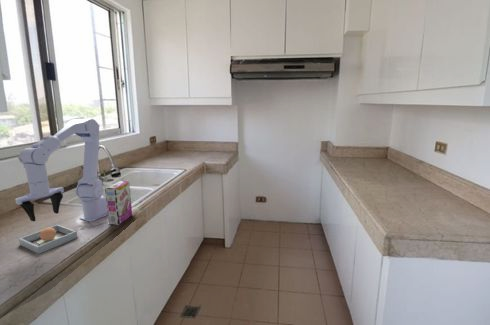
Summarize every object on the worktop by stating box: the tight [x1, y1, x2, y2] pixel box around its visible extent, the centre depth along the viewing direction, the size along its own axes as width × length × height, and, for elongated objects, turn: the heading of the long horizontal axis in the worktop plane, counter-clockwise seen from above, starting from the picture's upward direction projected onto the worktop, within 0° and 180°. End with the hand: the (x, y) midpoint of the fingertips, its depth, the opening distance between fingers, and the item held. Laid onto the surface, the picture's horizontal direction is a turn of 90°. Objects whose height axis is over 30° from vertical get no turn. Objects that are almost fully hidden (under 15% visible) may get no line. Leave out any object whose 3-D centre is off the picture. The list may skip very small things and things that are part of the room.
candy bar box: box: [104, 180, 133, 226], centre depth 117 cm, size 11×5×16 cm, turn 174°
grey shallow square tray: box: [18, 224, 78, 255], centre depth 100 cm, size 13×13×2 cm
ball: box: [39, 226, 57, 241], centre depth 100 cm, size 5×5×5 cm
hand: (45, 216), depth 99 cm, fingers open, 7 cm apart
